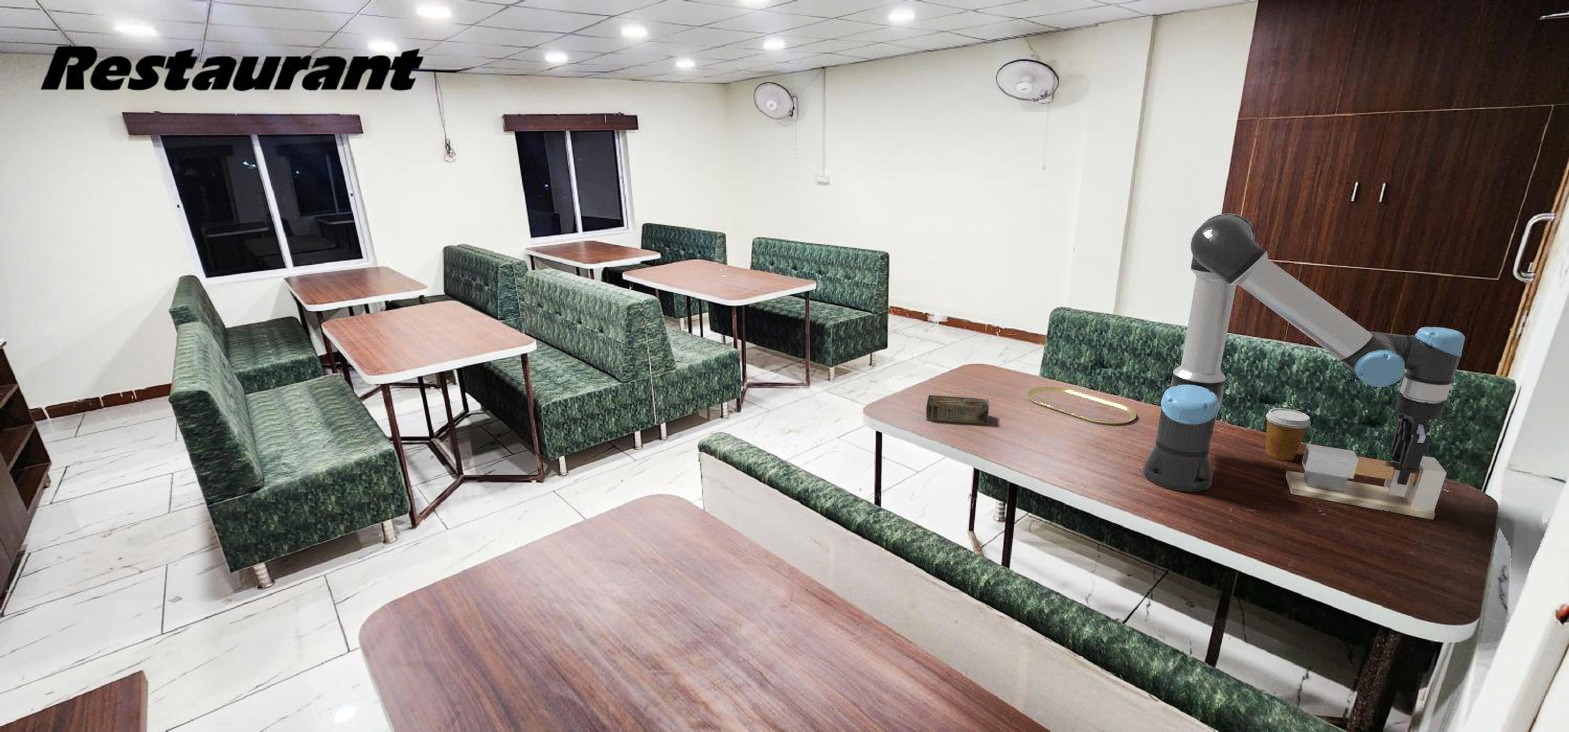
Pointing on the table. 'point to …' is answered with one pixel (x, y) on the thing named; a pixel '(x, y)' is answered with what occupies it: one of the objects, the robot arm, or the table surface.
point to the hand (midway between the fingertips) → (1394, 491)
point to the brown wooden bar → (1379, 469)
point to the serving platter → (1087, 396)
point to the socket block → (1426, 485)
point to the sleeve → (1328, 467)
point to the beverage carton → (957, 409)
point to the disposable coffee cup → (1285, 432)
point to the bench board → (1357, 496)
